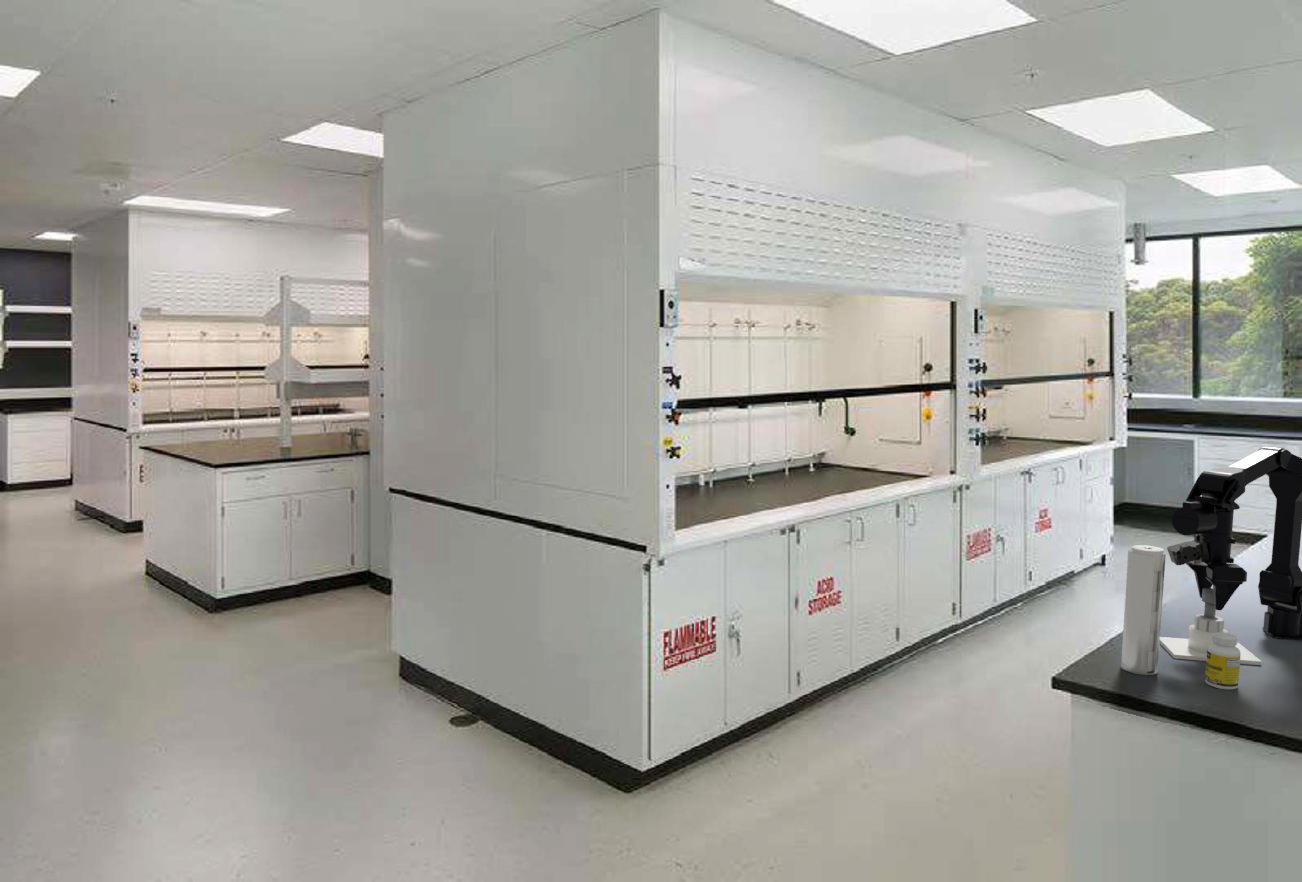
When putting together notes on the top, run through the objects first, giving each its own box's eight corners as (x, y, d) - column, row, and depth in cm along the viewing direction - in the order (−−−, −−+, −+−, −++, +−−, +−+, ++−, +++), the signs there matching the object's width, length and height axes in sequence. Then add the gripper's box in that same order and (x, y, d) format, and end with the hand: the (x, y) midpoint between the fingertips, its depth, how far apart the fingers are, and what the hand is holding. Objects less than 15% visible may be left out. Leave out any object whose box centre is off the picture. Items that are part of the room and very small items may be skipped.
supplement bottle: (1198, 680, 173) (1201, 631, 172) (1224, 679, 174) (1228, 630, 173) (1218, 690, 168) (1221, 640, 167) (1245, 690, 169) (1249, 639, 168)
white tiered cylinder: (1219, 644, 192) (1221, 614, 191) (1232, 655, 185) (1234, 624, 184) (1183, 641, 193) (1185, 611, 193) (1194, 652, 187) (1196, 621, 186)
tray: (1238, 646, 193) (1238, 642, 193) (1261, 665, 182) (1261, 661, 182) (1156, 640, 197) (1156, 636, 197) (1174, 658, 185) (1174, 654, 185)
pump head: (1215, 615, 190) (1217, 588, 189) (1220, 619, 187) (1222, 592, 186) (1198, 614, 190) (1200, 587, 190) (1203, 618, 187) (1205, 591, 187)
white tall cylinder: (1154, 666, 181) (1162, 545, 178) (1160, 677, 175) (1169, 552, 172) (1118, 662, 183) (1125, 542, 180) (1123, 673, 177) (1131, 549, 174)
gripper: (1159, 520, 197) (1154, 589, 199) (1188, 538, 179) (1182, 613, 181) (1215, 523, 195) (1210, 593, 196) (1250, 541, 177) (1244, 618, 178)
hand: (1210, 603), depth 188 cm, fingers open, 9 cm apart
